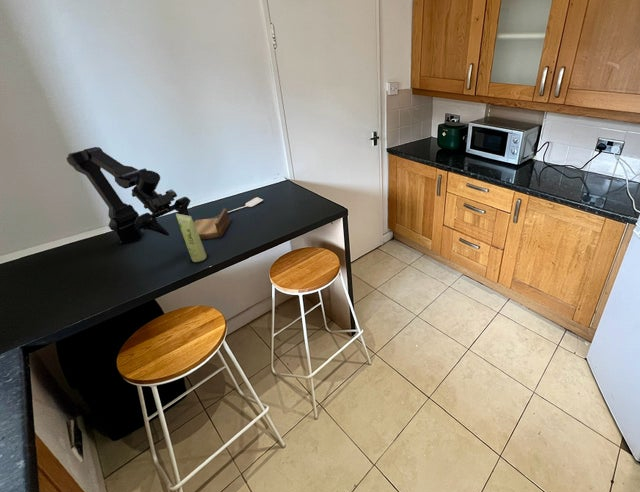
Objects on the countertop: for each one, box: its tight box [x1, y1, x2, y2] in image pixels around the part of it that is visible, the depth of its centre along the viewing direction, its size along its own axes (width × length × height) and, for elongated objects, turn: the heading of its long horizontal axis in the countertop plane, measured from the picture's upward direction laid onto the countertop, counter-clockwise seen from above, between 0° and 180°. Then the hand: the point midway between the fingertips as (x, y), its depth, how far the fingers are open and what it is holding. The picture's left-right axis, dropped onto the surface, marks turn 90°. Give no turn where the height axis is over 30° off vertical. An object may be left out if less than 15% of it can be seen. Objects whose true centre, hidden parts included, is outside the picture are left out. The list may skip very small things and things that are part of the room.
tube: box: [175, 213, 207, 263], centre depth 117 cm, size 6×5×20 cm
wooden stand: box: [193, 207, 231, 240], centre depth 138 cm, size 14×14×7 cm
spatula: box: [210, 196, 264, 219], centre depth 156 cm, size 6×29×2 cm, turn 145°
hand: (180, 228), depth 117 cm, fingers open, 9 cm apart
